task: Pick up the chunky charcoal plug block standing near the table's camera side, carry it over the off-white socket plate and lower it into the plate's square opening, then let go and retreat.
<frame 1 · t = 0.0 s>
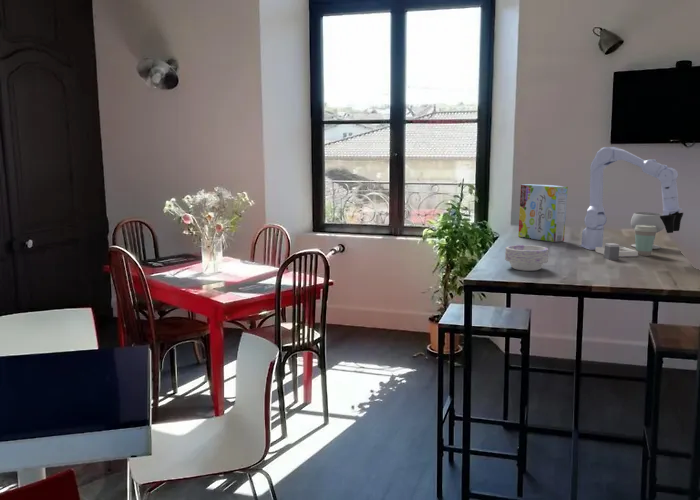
hand: (673, 231, 259), 11 cm above the table, tool pointing down, fingers open, 7 cm apart
white round bowl: (525, 269, 237), on the table
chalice: (645, 247, 286), on the table
coffee cup: (643, 255, 268), on the table
plug: (611, 258, 258), on the table
snack box: (540, 239, 308), on the table
socket plate: (616, 253, 269), on the table
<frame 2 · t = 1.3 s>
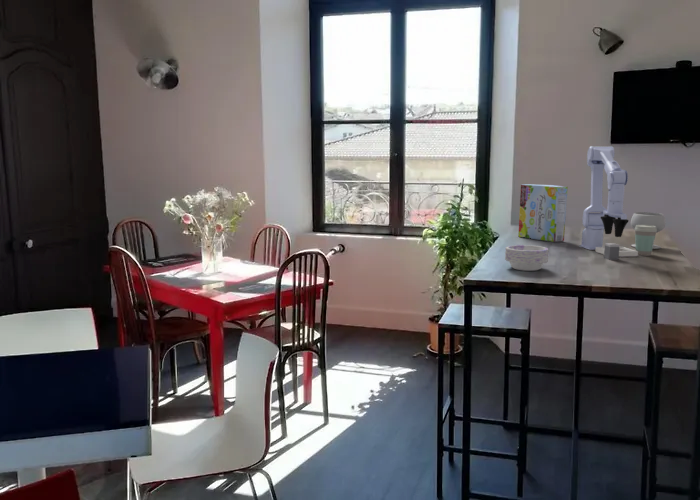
hand: (613, 235, 257), 9 cm above the table, tool pointing down, fingers open, 7 cm apart
nothing on the table moved.
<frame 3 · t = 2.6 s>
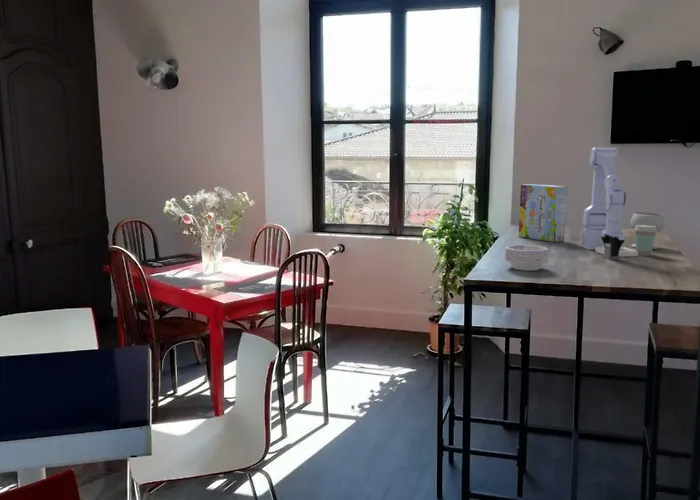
hand: (611, 255, 258), 1 cm above the table, tool pointing down, fingers closed on plug, 4 cm apart
plug: (611, 258, 258), on the table, touching gripper
everything else where it was.
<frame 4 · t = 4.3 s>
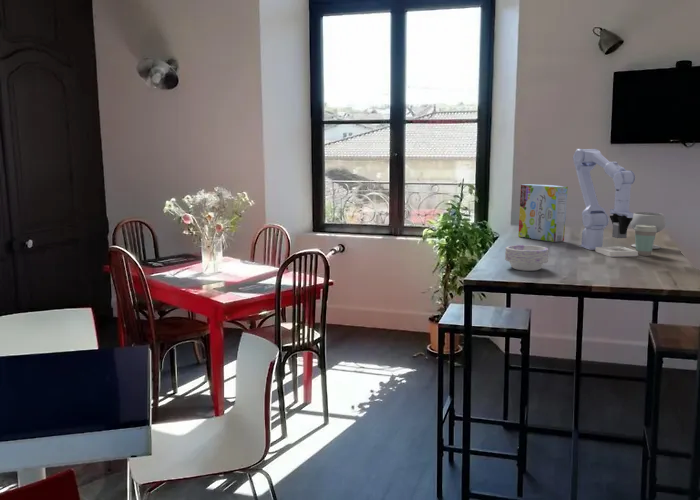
hand: (619, 233, 266), 9 cm above the table, tool pointing down, fingers closed on plug, 4 cm apart
plug: (619, 237, 267), point 7 cm above the table, touching gripper
everything else where it was.
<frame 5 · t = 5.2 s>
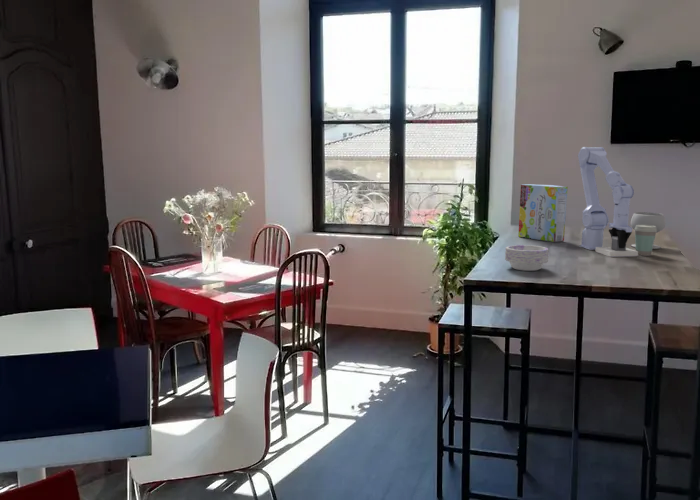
hand: (618, 247, 267), 3 cm above the table, tool pointing down, fingers closed on plug, 4 cm apart
plug: (618, 251, 268), point 1 cm above the table, touching gripper
everything else where it was.
when the fingers open (3 cm above the table, at t = 5.7 s): plug stays where it is, resting in socket plate.
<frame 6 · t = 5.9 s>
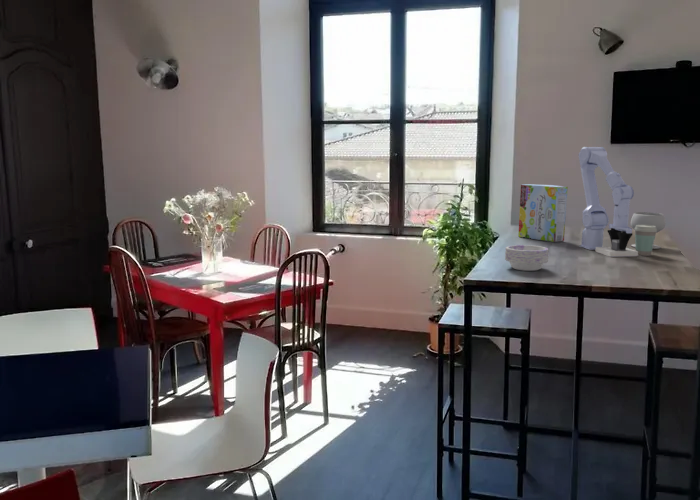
hand: (618, 248, 268), 3 cm above the table, tool pointing down, fingers open, 6 cm apart
plug: (618, 254, 268), resting in socket plate
everything else where it was.
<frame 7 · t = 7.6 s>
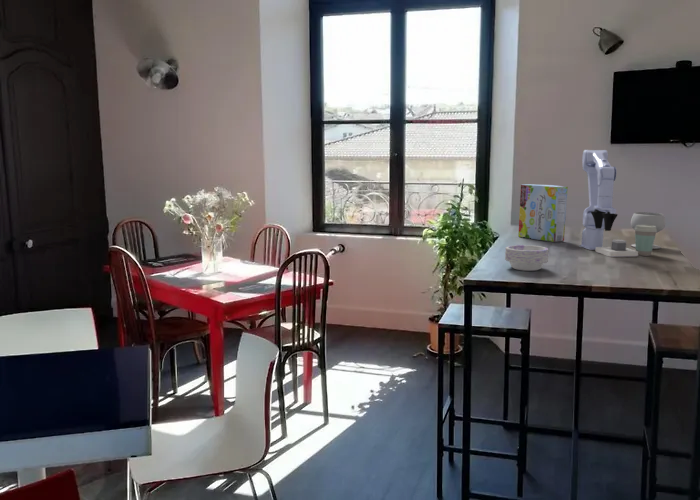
hand: (602, 229, 266), 10 cm above the table, tool pointing down, fingers open, 7 cm apart
nothing on the table moved.
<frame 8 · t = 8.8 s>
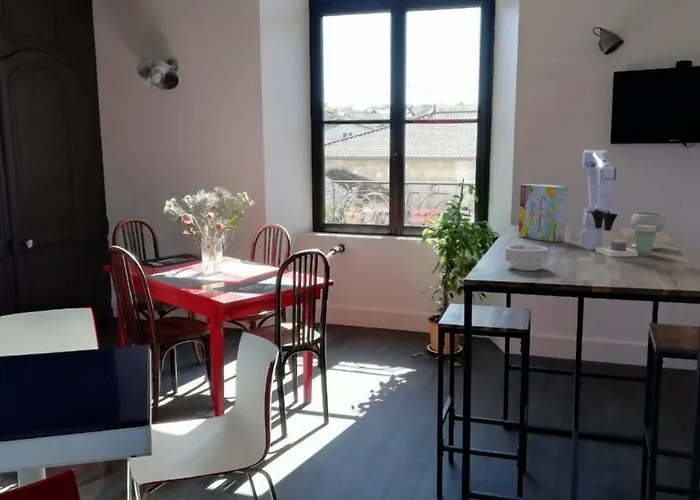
hand: (602, 229, 266), 10 cm above the table, tool pointing down, fingers open, 7 cm apart
nothing on the table moved.
at the end: plug 0.0 cm from the target spot on the socket plate, point 0.0 cm above the socket plate's base; plug tilted 0°; the gripper is holding nothing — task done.
